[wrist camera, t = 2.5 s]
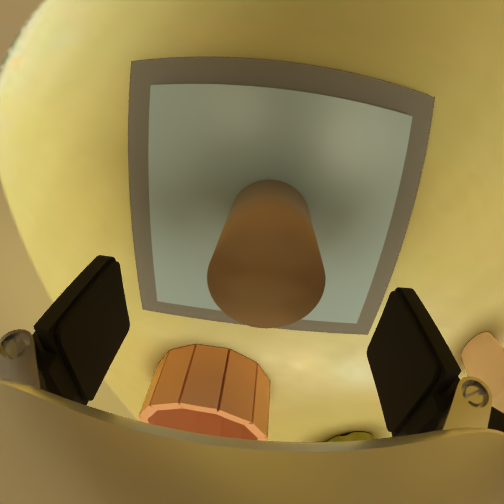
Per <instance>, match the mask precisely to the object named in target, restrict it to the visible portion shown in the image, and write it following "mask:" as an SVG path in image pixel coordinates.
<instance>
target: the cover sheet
mask: <svg viewBox="0 0 504 504" xmlns="http://www.w3.org/2000/svg"><path fill="white" fill-rule="evenodd" d="M412 117H413V116H410V115H406V114H403V113H400V112H396V111H392V110H389V109H385V108H381V107H377V106H373V105H369V104H365V103H360V102H356V101H351V100H347V99H342V98H336V97H331V96H326V95H320V94H314V93H307V92H301V91H293V90H285V89H277V88H267V87H256V86H243V85H223V84H164V85H151V87H150V105H149V141H148V168H149V205H150V225H151V240H152V253H153V264H154V275H155V284H156V293H157V301H159V302H166V303H172V304H178V305H185V306H192V307H198V308H206V309H213V310H220V311H223V312H224V313H225V314H226V315H228V316H229V317H231V318H232V319H234V320H236V321H238V322H240V323H242V324H245V325H248V326H252V327H258V328H277V327H282V326H286V325H290V324H292V323H295V322H297V321H299V320H301V319H302V320H314V321H326V322H340V323H356V324H357V321H358V319H359V316H360V313H361V311H362V308H363V305H364V303H365V300H366V297H367V294H368V291H369V289H370V286H371V283H372V280H373V277H374V274H375V271H376V268H377V265H378V262H379V259H380V255H381V252H382V249H383V246H384V242H385V239H386V235H387V232H388V228H389V225H390V221H391V217H392V214H393V210H394V206H395V202H396V198H397V194H398V189H399V185H400V181H401V176H402V172H403V167H404V162H405V157H406V152H407V147H408V141H409V136H410V130H411V123H412Z"/></svg>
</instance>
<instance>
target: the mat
mask: <svg viewBox="0 0 504 504" xmlns="http://www.w3.org/2000/svg"><path fill="white" fill-rule="evenodd" d="M164 84H223V85H243V86H256V87H267V88H277V89H285V90H293V91H301V92H307V93H314V94H320V95H326V96H331V97H336V98H342V99H347V100H351V101H356V102H360V103H365V104H369V105H373V106H377V107H381V108H385V109H389V110H392V111H396V112H400V113H403V114H406V115H410V116H413V117H412V123H411V130H410V136H409V141H408V147H407V152H406V157H405V162H404V167H403V172H402V176H401V181H400V185H399V189H398V194H397V198H396V202H395V206H394V210H393V214H392V217H391V221H390V225H389V228H388V232H387V235H386V239H385V242H384V246H383V249H382V252H381V255H380V259H379V262H378V265H377V268H376V271H375V274H374V277H373V280H372V283H371V286H370V289H369V291H368V294H367V297H366V300H365V303H364V305H363V308H362V311H361V313H360V316H359V319H358V321H357V324H356V323H340V322H326V321H314V320H302V319H301V320H299V321H297V322H295V323H292V324H290V325H286V326H282V327H277V328H279V329H290V330H301V331H314V332H328V333H344V334H364V335H368V333H369V331H370V329H371V326H372V324H373V322H374V319H375V317H376V315H377V312H378V310H379V307H380V305H381V302H382V300H383V297H384V295H385V292H386V289H387V287H388V284H389V281H390V279H391V276H392V273H393V270H394V267H395V265H396V262H397V259H398V256H399V253H400V250H401V247H402V243H403V240H404V237H405V234H406V230H407V227H408V224H409V220H410V217H411V213H412V210H413V206H414V202H415V198H416V194H417V190H418V186H419V182H420V178H421V173H422V169H423V164H424V160H425V155H426V150H427V144H428V139H429V133H430V127H431V121H432V114H433V107H434V99H435V97H432V96H430V95H427V94H424V93H421V92H418V91H415V90H412V89H409V88H406V87H403V86H400V85H397V84H393V83H390V82H386V81H383V80H379V79H375V78H372V77H368V76H364V75H359V74H355V73H351V72H346V71H341V70H336V69H331V68H326V67H320V66H314V65H308V64H301V63H294V62H286V61H277V60H267V59H254V58H237V57H177V58H160V59H148V60H138V61H131V73H130V89H129V114H128V163H129V189H130V206H131V219H132V231H133V241H134V251H135V259H136V267H137V275H138V282H139V289H140V296H141V302H142V308H143V310H149V311H155V312H160V313H166V314H172V315H178V316H185V317H191V318H198V319H205V320H212V321H219V322H227V323H234V324H242V323H240V322H238V321H236V320H234V319H232V318H231V317H229V316H228V315H226V314H225V313H224V312H223V311H220V310H213V309H206V308H198V307H192V306H185V305H178V304H172V303H166V302H159V301H157V293H156V284H155V275H154V264H153V253H152V240H151V225H150V205H149V168H148V141H149V105H150V87H151V85H164ZM243 325H245V324H243Z"/></svg>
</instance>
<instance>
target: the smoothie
mask: <svg viewBox="0 0 504 504" xmlns="http://www.w3.org/2000/svg"><path fill="white" fill-rule="evenodd" d="M461 357H462V360H463V363H464V366H465V369H466V372H467V376H471V377H476V378H478V379H480V380H482V381H483V382H484V383H485V384H486V385H487V386H488V388H489V389H490V391H491V394H492V407H494V408H496V409H497V410H499V411H501V412H503V413H504V348H503V347H502V346H501V345H500V344H499V343H498V341H497V340H496V339H495V338H494V337H493V336H492V335H491V333H489V332H483V333H480V334H478V335H477V336H475V337H474V338H472V339H471V340H470V341H469V342H468V343H467V344H466V346H465V347H464V349H463V351H462V354H461Z"/></svg>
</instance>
